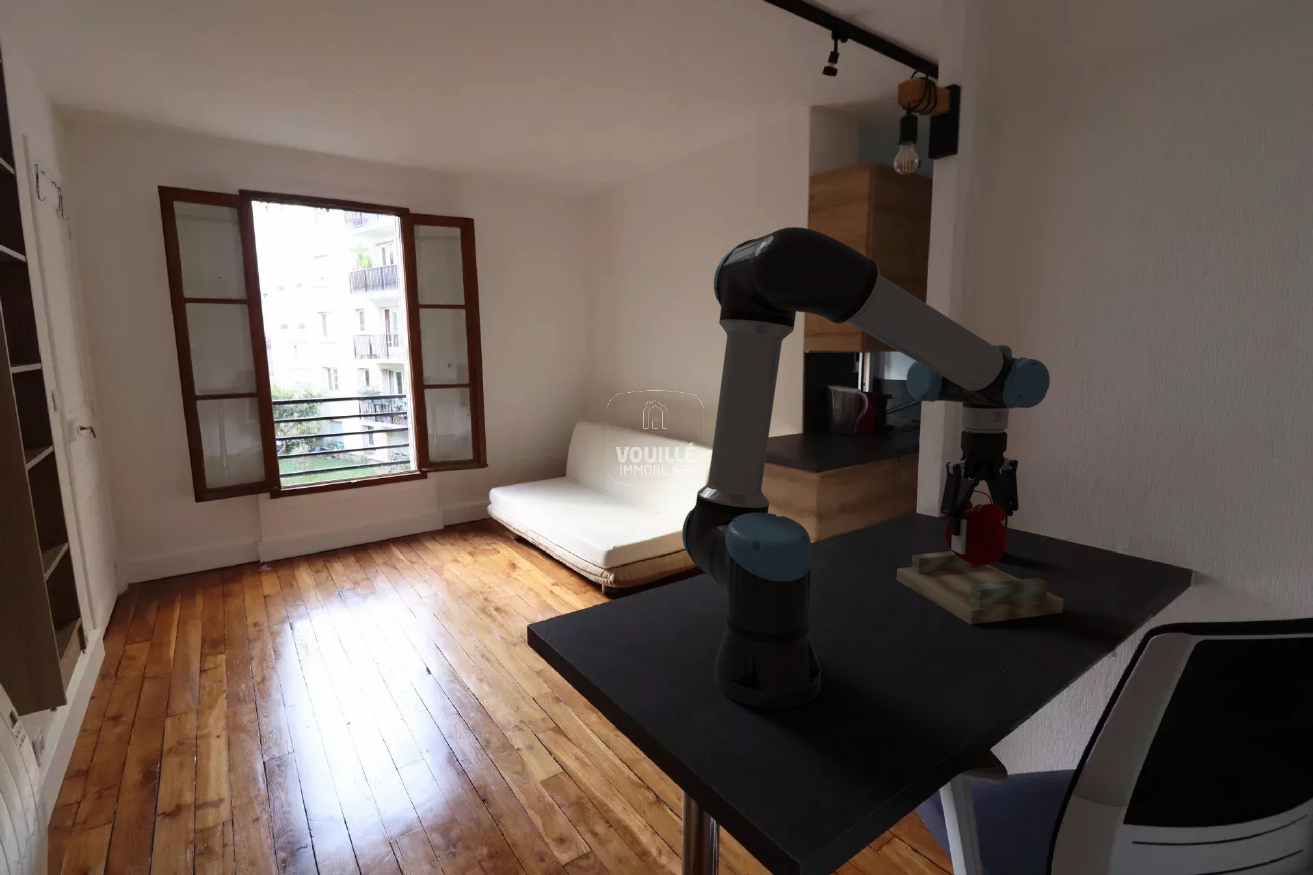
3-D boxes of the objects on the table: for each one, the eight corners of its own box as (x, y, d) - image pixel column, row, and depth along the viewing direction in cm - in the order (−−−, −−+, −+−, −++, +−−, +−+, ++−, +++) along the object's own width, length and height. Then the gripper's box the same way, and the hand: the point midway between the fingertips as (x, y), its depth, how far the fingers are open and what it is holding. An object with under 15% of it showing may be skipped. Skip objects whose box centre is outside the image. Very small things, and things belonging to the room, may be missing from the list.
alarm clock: (1010, 568, 115) (1016, 490, 112) (1000, 577, 110) (1005, 496, 108) (952, 555, 122) (956, 482, 120) (940, 563, 118) (944, 487, 115)
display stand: (970, 624, 105) (972, 594, 104) (896, 580, 125) (897, 554, 124) (1062, 612, 109) (1065, 582, 108) (976, 571, 129) (978, 546, 128)
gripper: (949, 435, 106) (943, 561, 110) (1048, 429, 111) (1039, 550, 114) (921, 430, 114) (916, 548, 117) (1015, 424, 118) (1007, 538, 121)
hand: (977, 549), depth 116 cm, fingers closed on alarm clock, 8 cm apart
